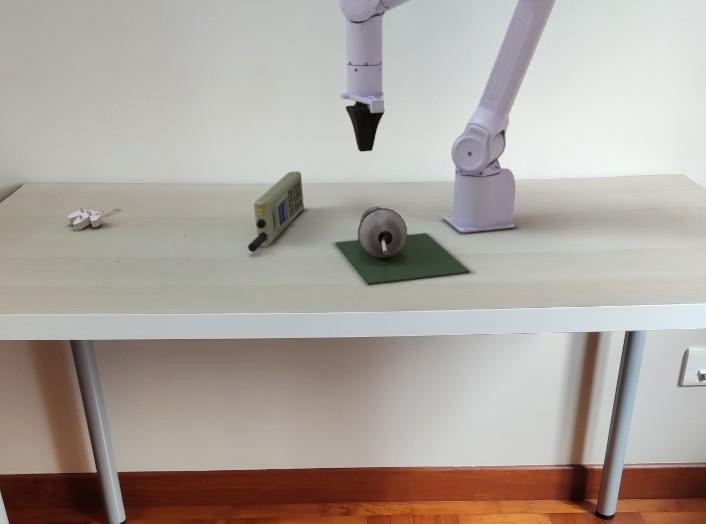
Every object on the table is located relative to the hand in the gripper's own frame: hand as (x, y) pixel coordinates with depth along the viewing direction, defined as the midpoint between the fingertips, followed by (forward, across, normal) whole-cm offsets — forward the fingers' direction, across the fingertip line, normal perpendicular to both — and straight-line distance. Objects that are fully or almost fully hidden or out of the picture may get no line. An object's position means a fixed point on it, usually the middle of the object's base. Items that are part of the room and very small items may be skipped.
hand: (365, 150), depth 137 cm
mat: (+10, +24, -2) cm, 27 cm away
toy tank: (+11, -9, -45) cm, 47 cm away
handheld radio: (+11, +6, -17) cm, 21 cm away
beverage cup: (+8, +13, -2) cm, 15 cm away
